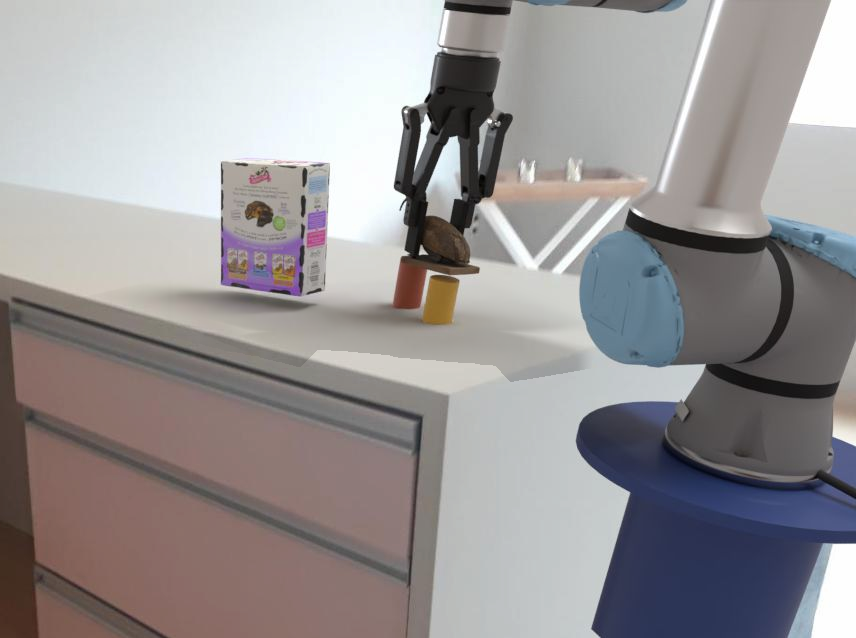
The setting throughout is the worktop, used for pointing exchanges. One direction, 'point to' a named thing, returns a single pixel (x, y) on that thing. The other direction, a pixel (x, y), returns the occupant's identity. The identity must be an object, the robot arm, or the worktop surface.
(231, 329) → the worktop surface
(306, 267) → the snack box
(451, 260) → the ibis bird sculpture
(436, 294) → the yellow cylinder
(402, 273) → the red cylinder
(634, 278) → the robot arm
